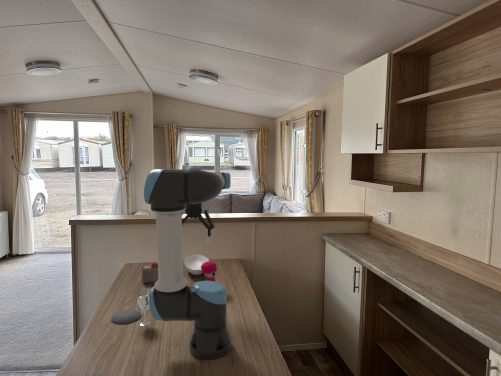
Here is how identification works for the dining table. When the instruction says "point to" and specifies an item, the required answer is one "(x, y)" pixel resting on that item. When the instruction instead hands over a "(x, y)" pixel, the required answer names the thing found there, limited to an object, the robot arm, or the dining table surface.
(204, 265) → the toy
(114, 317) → the coaster
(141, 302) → the wineglass
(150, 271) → the food item
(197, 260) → the bowl
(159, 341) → the dining table surface
